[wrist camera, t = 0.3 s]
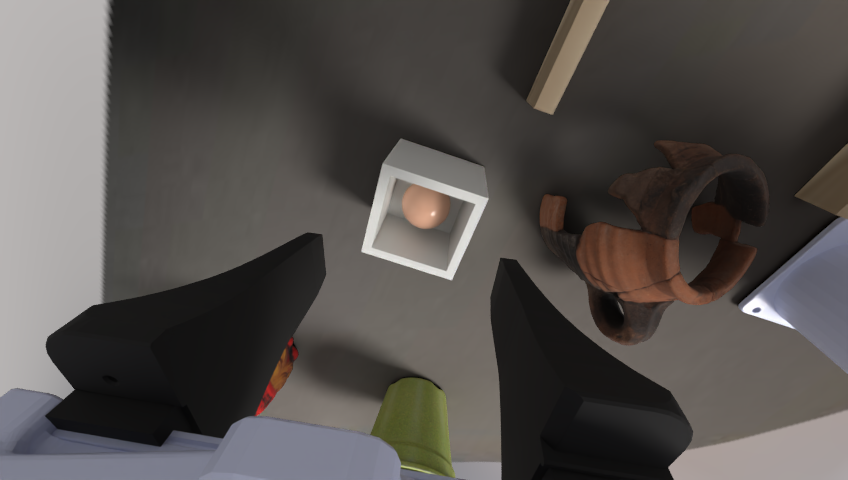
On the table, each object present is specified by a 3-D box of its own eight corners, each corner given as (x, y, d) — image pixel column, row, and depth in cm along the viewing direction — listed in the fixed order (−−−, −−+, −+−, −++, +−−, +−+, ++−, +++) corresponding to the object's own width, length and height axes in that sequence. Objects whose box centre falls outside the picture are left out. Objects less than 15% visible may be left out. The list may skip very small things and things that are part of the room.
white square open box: (484, 166, 20) (488, 198, 16) (454, 237, 23) (451, 280, 19) (400, 138, 20) (382, 163, 16) (381, 213, 23) (361, 251, 18)
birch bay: (1102, -77, 13) (1231, -101, 10) (809, 201, 19) (851, 220, 17) (685, -259, 11) (734, -327, 9) (525, 101, 18) (533, 108, 16)
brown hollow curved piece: (528, 149, 20) (663, 142, 12) (641, 139, 23) (807, 129, 15) (527, 322, 23) (633, 400, 16) (626, 294, 26) (756, 349, 18)
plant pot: (461, 424, 35) (459, 525, 28) (377, 416, 36) (354, 511, 29) (463, 368, 30) (462, 472, 23) (366, 361, 31) (335, 458, 24)
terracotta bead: (458, 181, 20) (456, 201, 18) (443, 221, 22) (439, 244, 19) (412, 166, 20) (405, 183, 18) (401, 207, 22) (392, 228, 19)
